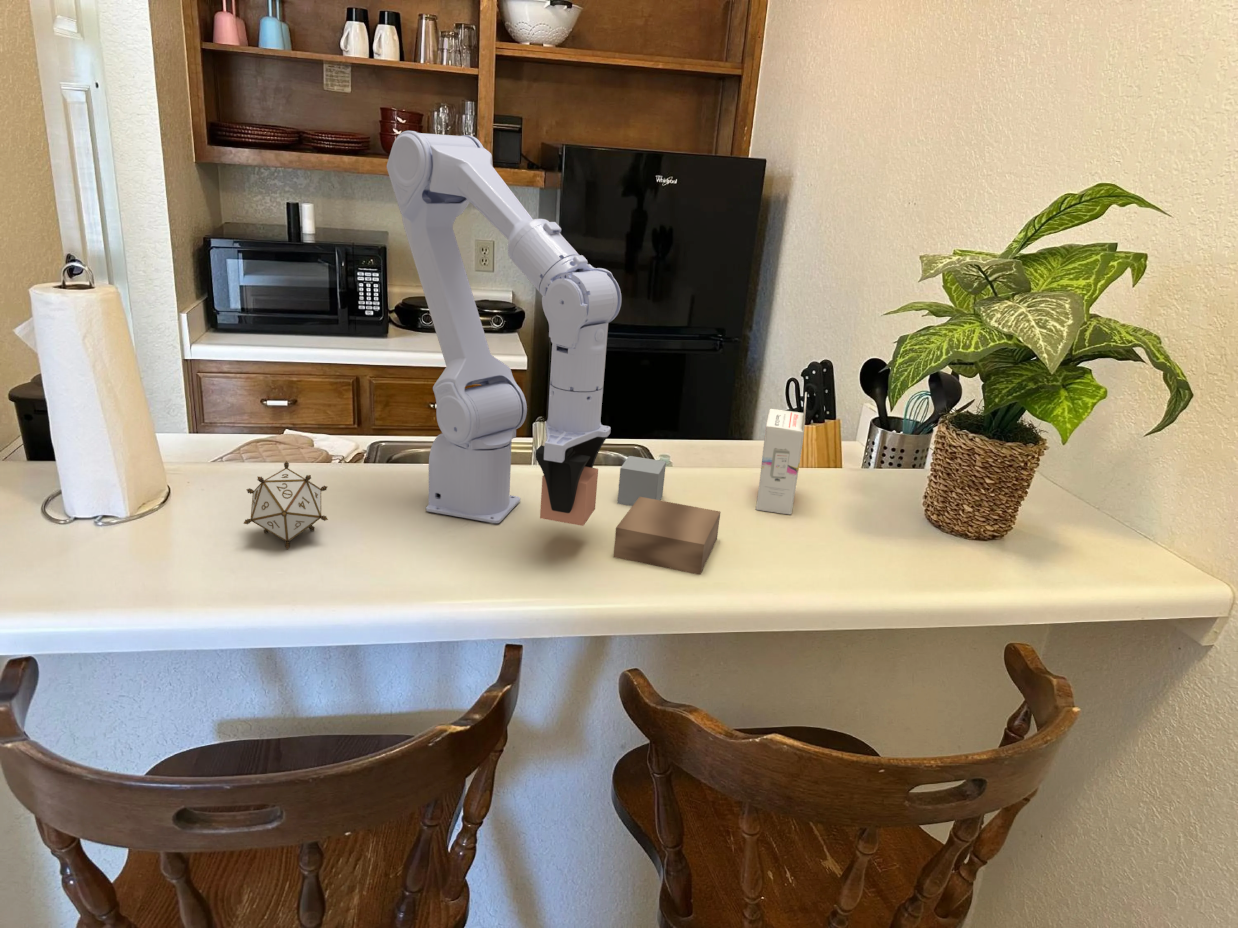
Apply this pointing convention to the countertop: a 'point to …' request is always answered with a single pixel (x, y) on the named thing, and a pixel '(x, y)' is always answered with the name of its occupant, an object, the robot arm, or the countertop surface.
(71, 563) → the countertop surface
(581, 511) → the salmon pink cube
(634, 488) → the grey cube
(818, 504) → the countertop surface
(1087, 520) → the countertop surface
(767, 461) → the ink cartridge box
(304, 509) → the game die
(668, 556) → the walnut block
